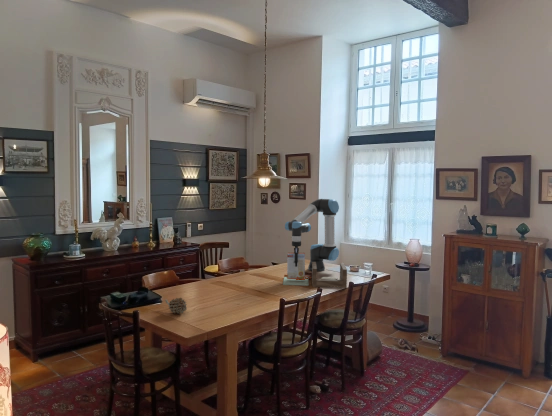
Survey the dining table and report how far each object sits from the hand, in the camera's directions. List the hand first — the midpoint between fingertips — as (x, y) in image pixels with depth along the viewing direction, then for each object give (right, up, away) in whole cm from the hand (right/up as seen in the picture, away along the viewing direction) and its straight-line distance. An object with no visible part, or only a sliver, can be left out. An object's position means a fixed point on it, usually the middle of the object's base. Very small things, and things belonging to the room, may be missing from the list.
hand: (296, 269), depth 346 cm
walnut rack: (+26, -10, -3) cm, 28 cm away
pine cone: (-79, -15, -79) cm, 113 cm away
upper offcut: (+26, -9, -6) cm, 28 cm away
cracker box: (0, -8, +1) cm, 8 cm away
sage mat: (0, -10, +1) cm, 10 cm away
